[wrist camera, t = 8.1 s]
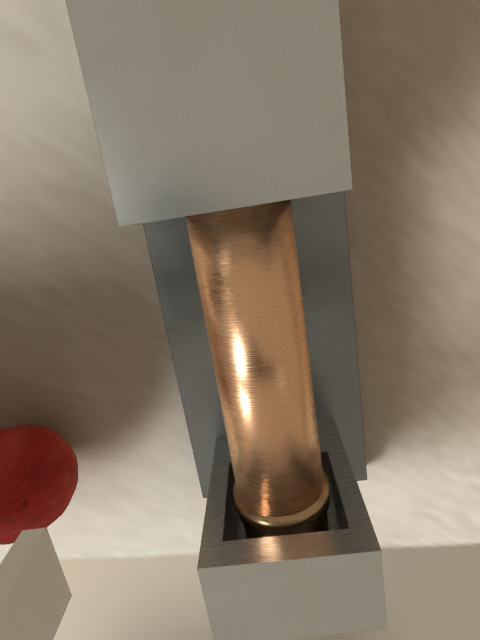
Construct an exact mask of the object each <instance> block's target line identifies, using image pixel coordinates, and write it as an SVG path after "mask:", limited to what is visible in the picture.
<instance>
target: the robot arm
mask: <svg viewBox="0 0 480 640" xmlns="http://www.w3.org/2000/svg"><path fill="white" fill-rule="evenodd" d="M71 596H72V595H71V592H70V590H69V587H68V584H67V581H66V579H65V576H64V573H63V571H62V568H61V565H60V563H59V560H58V557H57V555H56V552H55V549H54V546H53V544H52V541H51V538H50V536H49V533H48V530H47V528H38V529H30V530H22V531H21V533H20V534H19V536H18V538H17V539H16V541H15V542H14V544H13V545H12V547H11V549H10V550H9V552H8V553H7V555H6V556H5V558H4V559H3V561H2V563H1V564H0V640H53V639H54V636H55V634H56V632H57V629H58V627H59V624H60V622H61V620H62V617H63V615H64V612H65V610H66V608H67V605H68V603H69V600H70V598H71Z"/></svg>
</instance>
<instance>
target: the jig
mask: <svg viewBox="0 0 480 640" xmlns="http://www.w3.org/2000/svg"><path fill="white" fill-rule="evenodd" d="M65 1H66V6H67V10H68V14H69V18H70V22H71V27H72V31H73V35H74V39H75V44H76V48H77V52H78V56H79V61H80V65H81V69H82V73H83V77H84V82H85V86H86V90H87V94H88V99H89V103H90V107H91V111H92V116H93V120H94V124H95V128H96V133H97V137H98V141H99V145H100V149H101V154H102V158H103V162H104V166H105V171H106V175H107V179H108V183H109V188H110V192H111V196H112V200H113V204H114V209H115V213H116V217H117V221H118V226H119V227H123V226H129V225H135V224H141V223H143V225H144V230H145V235H146V239H147V244H148V248H149V253H150V257H151V262H152V267H153V271H154V276H155V280H156V285H157V289H158V294H159V298H160V303H161V308H162V312H163V317H164V321H165V326H166V330H167V335H168V340H169V344H170V349H171V353H172V358H173V362H174V367H175V371H176V376H177V381H178V385H179V390H180V394H181V399H182V403H183V408H184V413H185V417H186V422H187V426H188V431H189V435H190V440H191V444H192V449H193V454H194V458H195V463H196V467H197V472H198V476H199V481H200V485H201V490H202V495H203V498H207V505H206V512H205V518H204V525H203V532H202V539H201V546H200V553H199V560H198V566H197V571H198V575H199V579H200V583H201V587H202V591H203V596H204V600H205V604H206V608H207V613H208V617H209V621H210V625H211V629H212V633H213V638H214V640H269V639H281V638H292V637H304V636H315V635H327V634H339V633H351V632H363V631H374V630H386V629H387V622H386V608H385V595H384V594H385V593H384V582H383V581H384V580H383V568H382V567H383V566H382V554H381V553H382V552H381V548H380V546H379V543H378V540H377V537H376V534H375V532H374V529H373V526H372V523H371V520H370V518H369V515H368V512H367V509H366V506H365V504H364V501H363V498H362V495H361V493H360V490H359V487H358V484H357V481H361V480H367V471H366V459H365V446H364V434H363V421H362V409H361V396H360V384H359V372H358V359H357V347H356V334H355V322H354V309H353V297H352V285H351V272H350V260H349V247H348V235H347V222H346V210H345V198H344V191H346V190H352V189H353V188H352V175H351V161H350V148H349V135H348V121H347V108H346V94H345V81H344V68H343V54H342V41H341V27H340V14H339V0H65ZM290 199H291V204H292V213H293V221H294V230H295V239H296V247H297V256H298V264H299V273H300V282H301V290H302V299H303V307H304V316H305V324H306V333H307V342H308V350H309V359H310V367H311V376H312V385H313V393H314V402H315V410H316V419H317V428H318V436H319V445H320V453H321V462H322V469H323V470H324V472H325V474H326V475H327V478H328V483H329V492H330V505H329V508H328V510H327V513H328V522H329V531H320V532H311V533H301V534H291V535H281V536H272V537H262V538H252V539H246V535H245V529H244V524H243V522H242V520H241V519H240V517H239V516H238V513H237V510H236V505H235V500H234V495H233V488H234V483H235V476H234V471H233V466H232V461H231V455H230V450H229V445H228V440H227V434H226V429H225V424H224V418H223V413H222V408H221V403H220V397H219V392H218V387H217V382H216V376H215V371H214V366H213V360H212V355H211V350H210V345H209V339H208V334H207V329H206V324H205V318H204V313H203V308H202V302H201V297H200V292H199V287H198V281H197V276H196V271H195V265H194V260H193V255H192V250H191V244H190V239H189V234H188V229H187V223H186V218H185V216H191V215H197V214H203V213H210V212H216V211H222V210H228V209H234V208H241V207H247V206H253V205H259V204H265V203H272V202H278V201H284V200H290Z"/></svg>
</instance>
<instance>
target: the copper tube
mask: <svg viewBox="0 0 480 640" xmlns="http://www.w3.org/2000/svg"><path fill="white" fill-rule="evenodd" d="M185 218H186V223H187V229H188V234H189V239H190V244H191V250H192V255H193V260H194V265H195V271H196V276H197V281H198V287H199V292H200V297H201V302H202V308H203V313H204V318H205V324H206V329H207V334H208V339H209V345H210V350H211V355H212V360H213V366H214V371H215V376H216V382H217V387H218V392H219V397H220V403H221V408H222V413H223V418H224V424H225V429H226V434H227V440H228V445H229V450H230V455H231V461H232V466H233V471H234V476H235V483H234V488H233V495H234V500H235V505H236V510H237V513H238V516H239V517H240V519H241V520H242V522H243V524H244V529H245V535H246V539H252V538H262V537H272V536H281V535H291V534H301V533H311V532H320V531H329V522H328V513H327V510H328V508H329V505H330V492H329V483H328V478H327V475H326V474H325V472H324V470H323V469H322V462H321V453H320V445H319V436H318V428H317V419H316V410H315V402H314V393H313V385H312V376H311V367H310V359H309V350H308V342H307V333H306V324H305V316H304V307H303V299H302V290H301V282H300V273H299V264H298V256H297V247H296V239H295V230H294V221H293V213H292V204H291V199H290V200H284V201H278V202H272V203H265V204H259V205H253V206H247V207H241V208H234V209H228V210H222V211H216V212H210V213H203V214H197V215H191V216H185Z"/></svg>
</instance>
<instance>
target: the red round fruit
mask: <svg viewBox="0 0 480 640" xmlns="http://www.w3.org/2000/svg"><path fill="white" fill-rule="evenodd" d="M77 481H78V464H77V458H76V455H75V453H74V451H73V449H72V447H71V445H70V444H69V443H68V442H67V441H66V440H65V439H64V438H63V437H62V436H61V435H60V434H59V433H57V432H55V431H53V430H51V429H49V428H47V427H44V426H37V425H21V426H16V427H10V428H5V429H1V430H0V544H11V543H14V542H15V541H16V539H17V538H18V536H19V534H20V533H21V531H22V530H30V529H38V528H47V527H48V526H49V525H50V524H51V523H53V522H54V521H55V520H56V519H57V518H58V517H60V516H61V515H62V514H63V512H64V511H65V509H66V508H67V506H68V505H69V503H70V500H71V498H72V496H73V494H74V491H75V489H76V485H77Z"/></svg>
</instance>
